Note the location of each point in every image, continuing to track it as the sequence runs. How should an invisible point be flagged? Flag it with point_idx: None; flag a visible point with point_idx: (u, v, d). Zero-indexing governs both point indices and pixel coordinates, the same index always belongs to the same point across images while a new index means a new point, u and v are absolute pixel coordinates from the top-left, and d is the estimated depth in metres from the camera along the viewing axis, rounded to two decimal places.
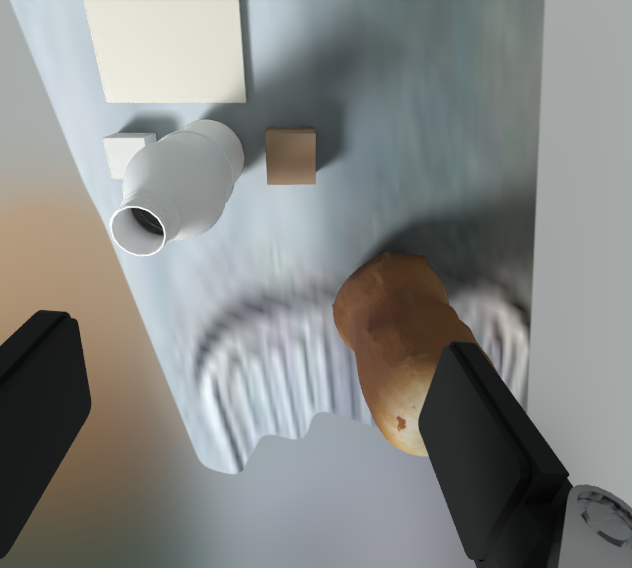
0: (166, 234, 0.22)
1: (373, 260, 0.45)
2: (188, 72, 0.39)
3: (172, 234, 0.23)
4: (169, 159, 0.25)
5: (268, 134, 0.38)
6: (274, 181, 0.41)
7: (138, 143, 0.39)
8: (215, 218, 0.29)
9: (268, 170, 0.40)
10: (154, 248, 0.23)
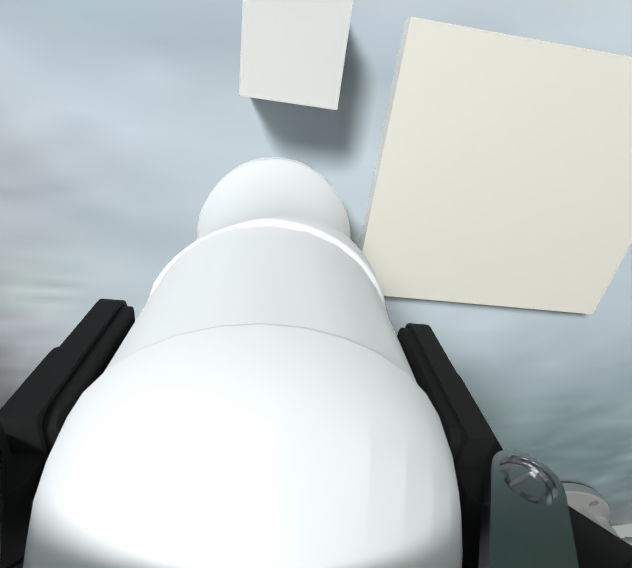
0: None
1: None
2: (419, 211, 0.21)
3: None
4: None
5: None
6: None
7: (326, 91, 0.16)
8: None
9: None
10: None
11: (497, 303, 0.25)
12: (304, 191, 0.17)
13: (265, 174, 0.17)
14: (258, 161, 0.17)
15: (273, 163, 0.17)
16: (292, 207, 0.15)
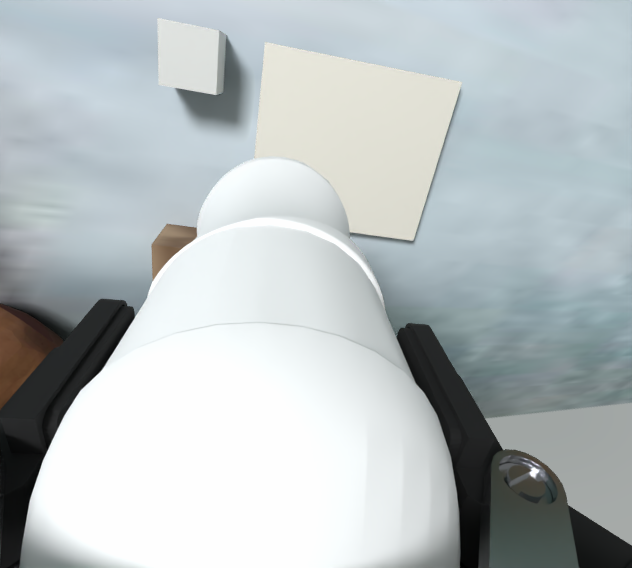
0: None
1: None
2: None
3: None
4: None
5: None
6: (155, 252, 0.33)
7: (209, 84, 0.28)
8: None
9: (169, 248, 0.33)
10: None
11: None
12: (303, 190, 0.17)
13: (264, 173, 0.17)
14: (257, 160, 0.17)
15: (272, 162, 0.17)
16: (291, 206, 0.15)
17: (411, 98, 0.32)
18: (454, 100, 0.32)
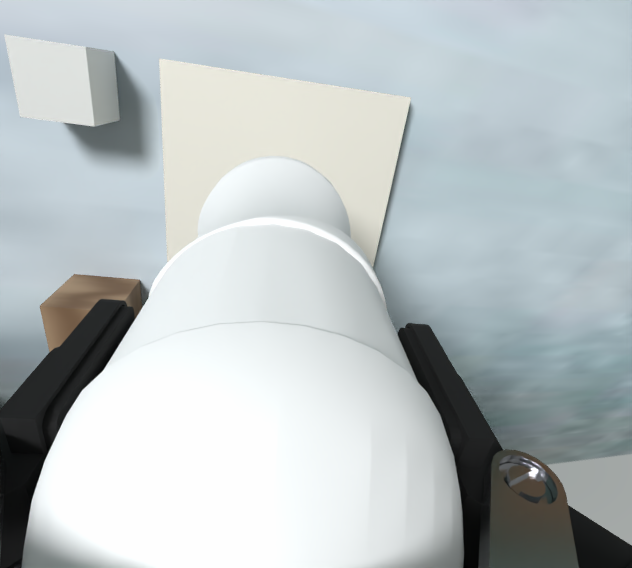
0: None
1: None
2: (203, 201, 0.28)
3: None
4: None
5: None
6: (46, 315, 0.27)
7: (83, 114, 0.22)
8: None
9: (62, 309, 0.27)
10: None
11: None
12: (305, 190, 0.16)
13: (265, 173, 0.17)
14: (258, 160, 0.17)
15: (273, 162, 0.17)
16: (292, 206, 0.14)
17: (349, 119, 0.26)
18: (403, 119, 0.26)
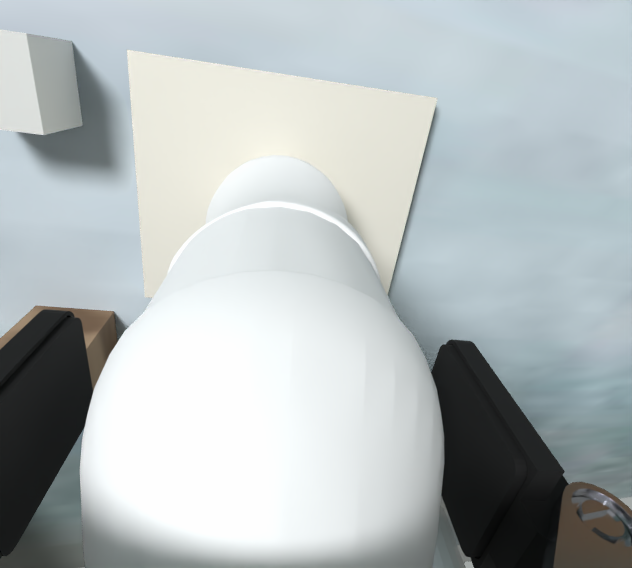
0: None
1: None
2: (186, 222, 0.23)
3: None
4: None
5: None
6: None
7: (28, 119, 0.18)
8: None
9: None
10: None
11: None
12: (305, 185, 0.18)
13: (269, 170, 0.18)
14: (262, 158, 0.19)
15: (276, 160, 0.19)
16: (295, 198, 0.16)
17: (362, 124, 0.21)
18: (427, 125, 0.22)
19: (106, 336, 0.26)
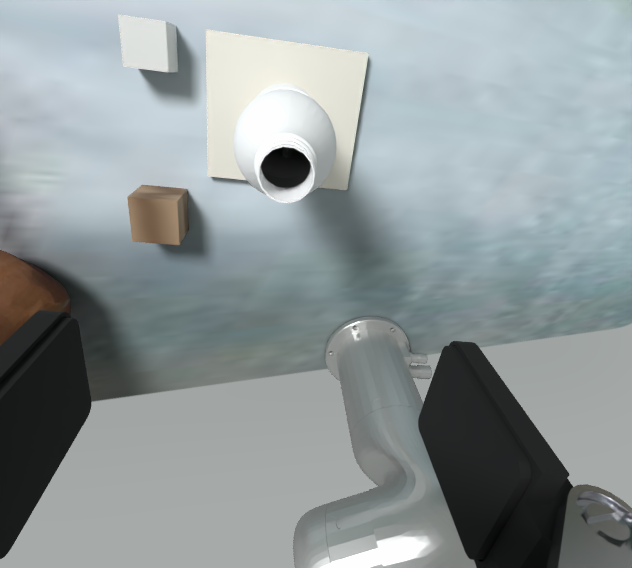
0: (279, 201, 0.21)
1: (56, 292, 0.44)
2: (232, 128, 0.42)
3: None
4: (326, 167, 0.26)
5: (176, 204, 0.41)
6: (131, 204, 0.41)
7: (162, 64, 0.36)
8: (257, 189, 0.27)
9: (142, 199, 0.41)
10: (261, 178, 0.20)
11: None
12: None
13: None
14: (276, 84, 0.37)
15: (283, 85, 0.37)
16: None
17: (328, 68, 0.40)
18: (364, 68, 0.40)
19: (184, 201, 0.45)
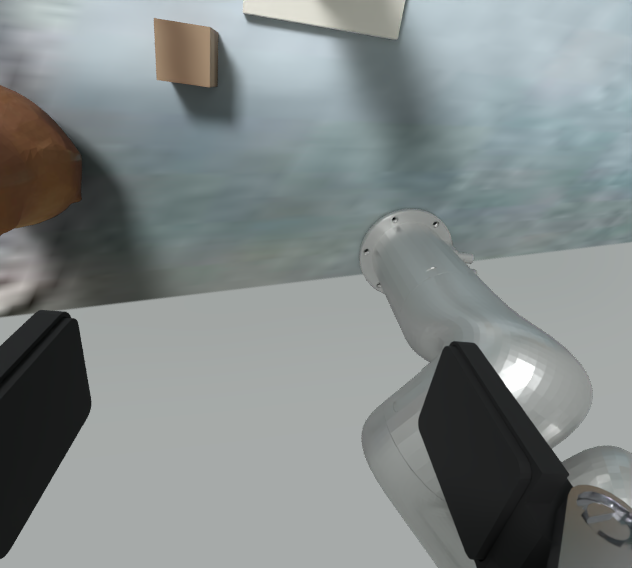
0: None
1: (68, 140, 0.39)
2: None
3: None
4: None
5: (209, 31, 0.36)
6: (157, 28, 0.36)
7: None
8: None
9: (170, 23, 0.36)
10: None
11: (334, 26, 0.40)
12: None
13: None
14: None
15: None
16: None
17: None
18: None
19: (215, 42, 0.39)
